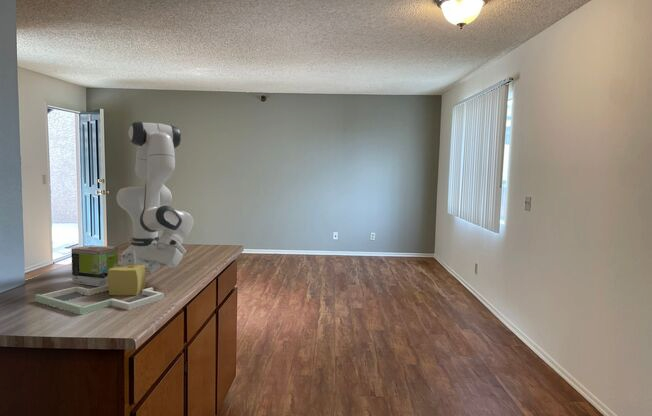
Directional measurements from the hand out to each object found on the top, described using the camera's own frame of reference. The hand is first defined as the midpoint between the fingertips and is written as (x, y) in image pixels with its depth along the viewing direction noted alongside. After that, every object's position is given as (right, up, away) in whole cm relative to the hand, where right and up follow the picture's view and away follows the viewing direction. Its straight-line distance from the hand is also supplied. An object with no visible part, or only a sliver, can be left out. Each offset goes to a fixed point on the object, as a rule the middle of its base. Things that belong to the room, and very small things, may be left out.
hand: (148, 272), depth 163 cm
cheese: (-5, -7, -8) cm, 11 cm away
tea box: (-24, -5, +5) cm, 25 cm away
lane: (-9, -7, -16) cm, 20 cm away
